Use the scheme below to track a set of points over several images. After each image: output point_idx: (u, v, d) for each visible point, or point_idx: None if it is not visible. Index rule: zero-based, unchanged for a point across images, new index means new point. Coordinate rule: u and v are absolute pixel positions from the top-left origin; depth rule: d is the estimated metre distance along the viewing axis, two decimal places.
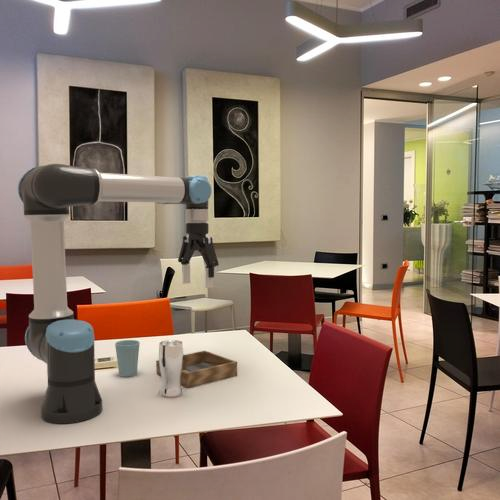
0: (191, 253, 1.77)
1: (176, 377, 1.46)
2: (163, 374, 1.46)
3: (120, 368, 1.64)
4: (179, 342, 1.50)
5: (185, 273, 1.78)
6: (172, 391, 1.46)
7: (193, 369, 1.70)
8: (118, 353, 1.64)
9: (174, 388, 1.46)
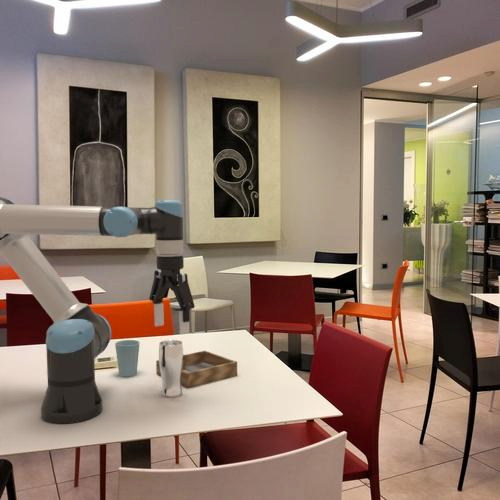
0: (164, 291, 1.50)
1: (176, 377, 1.46)
2: (163, 374, 1.46)
3: (120, 368, 1.64)
4: (179, 342, 1.50)
5: (157, 314, 1.51)
6: (172, 391, 1.46)
7: (193, 369, 1.70)
8: (118, 353, 1.64)
9: (174, 388, 1.46)
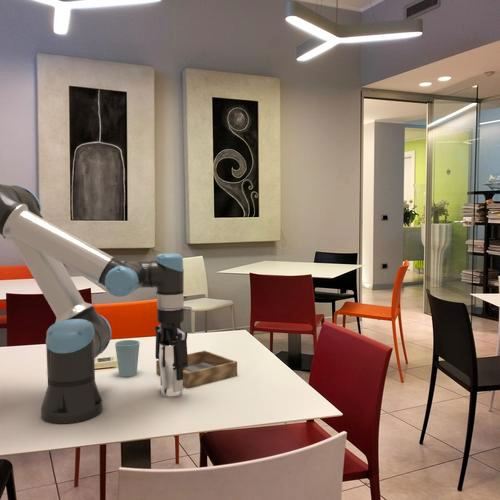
0: None
1: None
2: (163, 374, 1.46)
3: (120, 368, 1.64)
4: None
5: None
6: (172, 391, 1.46)
7: (193, 369, 1.70)
8: (118, 353, 1.64)
9: None
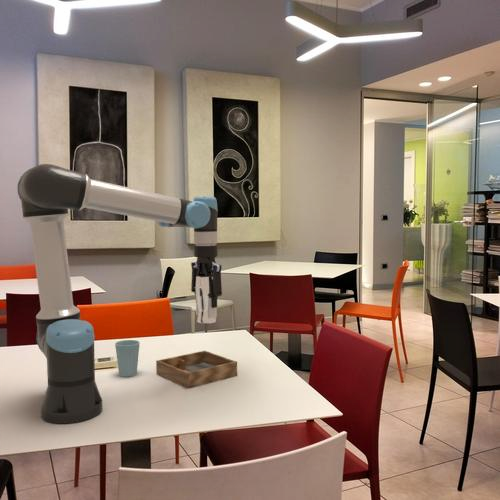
0: None
1: None
2: (200, 303, 1.65)
3: (120, 368, 1.64)
4: None
5: None
6: (207, 318, 1.65)
7: (193, 369, 1.70)
8: (118, 353, 1.64)
9: None
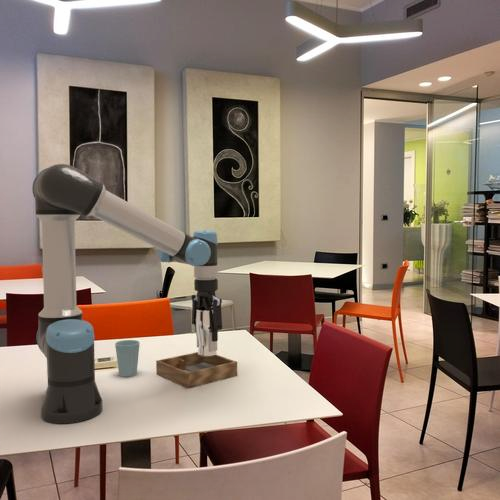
0: None
1: None
2: (200, 336, 1.65)
3: (120, 368, 1.64)
4: None
5: None
6: (208, 351, 1.65)
7: (193, 369, 1.70)
8: (118, 353, 1.64)
9: None
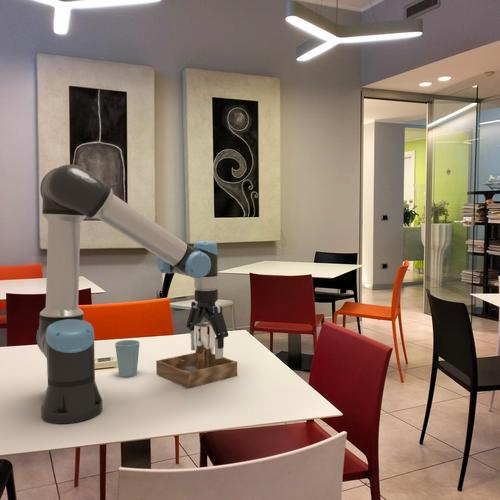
0: (200, 319, 1.71)
1: (209, 355, 1.67)
2: (198, 352, 1.66)
3: (120, 368, 1.64)
4: None
5: None
6: (206, 367, 1.66)
7: (193, 369, 1.70)
8: (118, 353, 1.64)
9: (207, 364, 1.67)
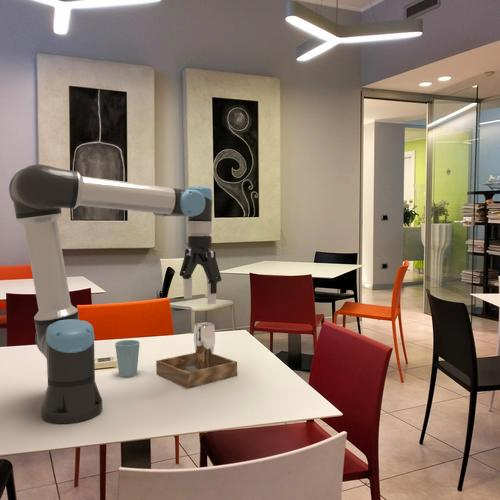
0: (193, 267, 1.69)
1: (209, 355, 1.67)
2: (198, 352, 1.66)
3: (120, 368, 1.64)
4: (211, 324, 1.70)
5: (187, 288, 1.71)
6: (206, 367, 1.66)
7: (193, 369, 1.70)
8: (118, 353, 1.64)
9: (207, 364, 1.67)
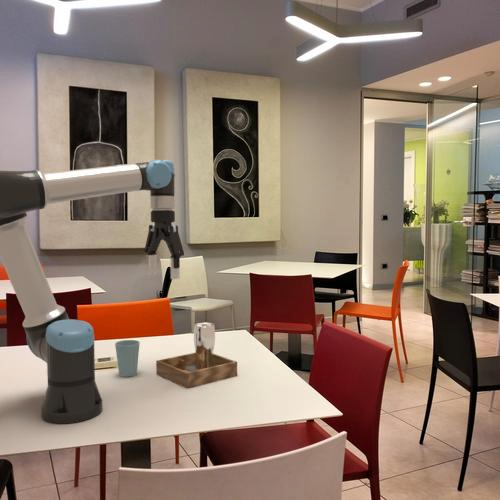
0: (157, 243, 1.67)
1: (209, 355, 1.67)
2: (198, 352, 1.66)
3: (120, 368, 1.64)
4: (211, 324, 1.70)
5: (151, 264, 1.69)
6: (205, 367, 1.66)
7: (193, 369, 1.70)
8: (118, 353, 1.64)
9: (207, 364, 1.67)
